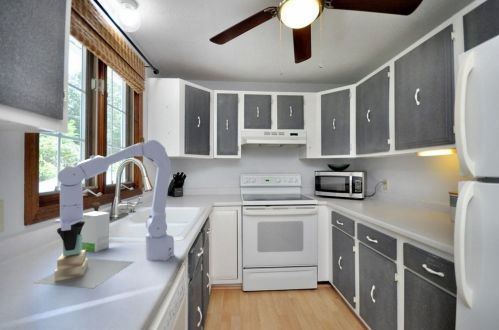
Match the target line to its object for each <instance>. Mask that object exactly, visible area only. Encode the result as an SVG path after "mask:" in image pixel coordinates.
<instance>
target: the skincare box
mask: <svg viewBox="0 0 499 330" xmlns="http://www.w3.org/2000/svg"><path fill="white" fill-rule="evenodd" d="M110 214H111V213H110V212H106V211H105V212H104V211H99V212H96V211H95V210H94V211H89V212H85V213H83V217H84V220H82V221H85V224H84V225H83V228H82V230H81V234H82V250H86V252H92V253H94V252H95V253H97V252H99V251H102V250H105V249H106V250H107V249H109V245H110Z"/></svg>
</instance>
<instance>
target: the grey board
mask: <svg viewBox="0 0 499 330" xmlns="http://www.w3.org/2000/svg"><path fill="white" fill-rule="evenodd" d="M133 263H135V261H130V260H129V261H127V260H116V259H115V260H113V259H100V258H99V259H97V258H88V267H87V270H86V272H85V274H84V276H79V277H74V278H69V279H64V280H59V281H55V272H54V273H51V274H49V275H48V276H46V277H43V278H40V279H39V280H37V281H34V282H33V283H34V284H43V285H51V286H52V285H53V286H62V287H63V286H64V287H74V288H86V289H95V288H96V287H99V285H101V284H103V283H104V282H106V281H108V280H109V279H110V278H112V277H113V276H115V275H117V274H119V273H120V272H121V271H123V270H124V269H126V268H127V267H129V266H131V265H132V264H133Z"/></svg>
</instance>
